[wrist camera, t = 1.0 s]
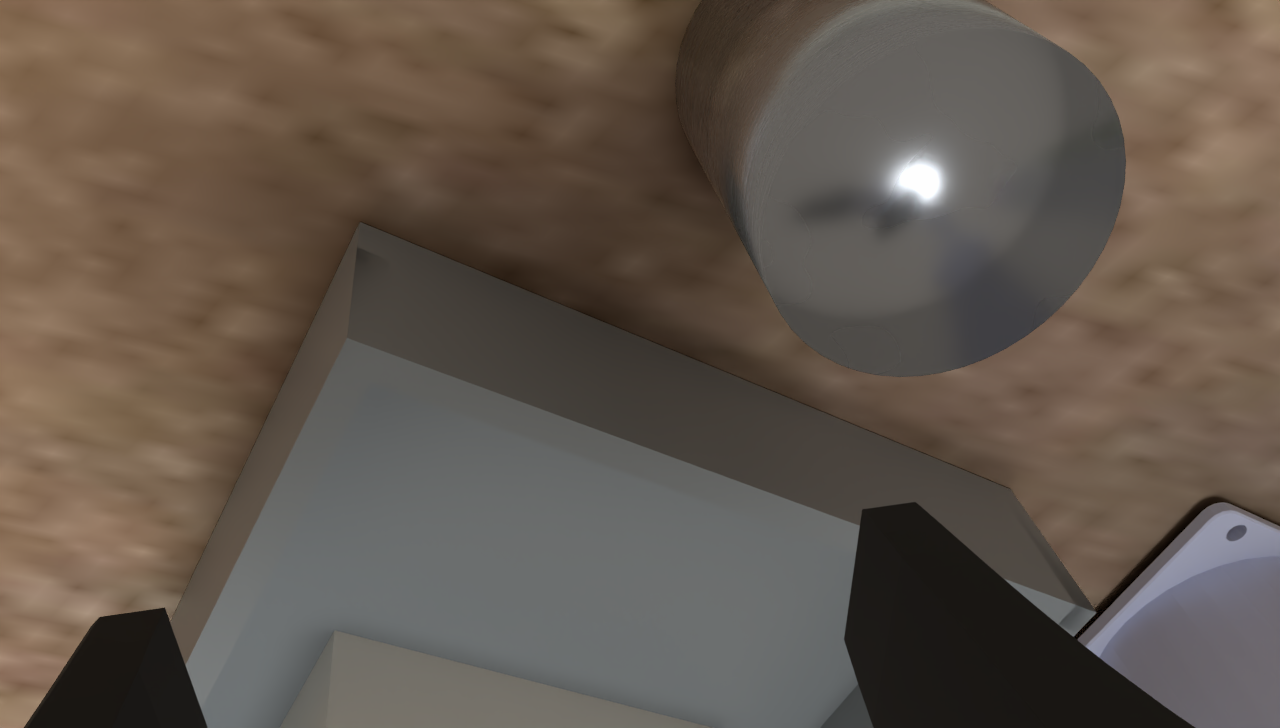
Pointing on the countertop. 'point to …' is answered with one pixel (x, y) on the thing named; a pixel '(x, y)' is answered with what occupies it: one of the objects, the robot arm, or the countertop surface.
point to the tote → (558, 512)
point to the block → (442, 695)
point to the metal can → (902, 170)
